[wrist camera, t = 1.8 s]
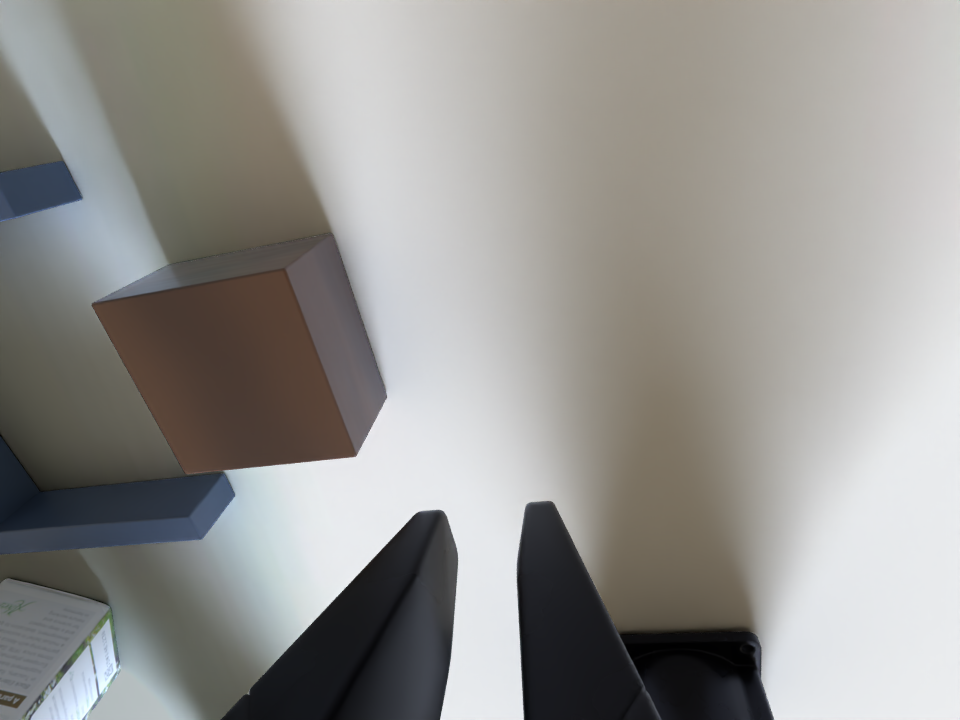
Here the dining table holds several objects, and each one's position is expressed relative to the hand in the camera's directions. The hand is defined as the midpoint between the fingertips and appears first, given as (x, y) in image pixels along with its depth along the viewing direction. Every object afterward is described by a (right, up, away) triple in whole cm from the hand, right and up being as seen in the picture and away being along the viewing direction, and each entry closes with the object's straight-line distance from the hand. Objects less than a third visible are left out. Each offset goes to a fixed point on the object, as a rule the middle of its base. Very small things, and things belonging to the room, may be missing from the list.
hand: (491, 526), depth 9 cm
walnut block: (-7, +3, +11) cm, 13 cm away
